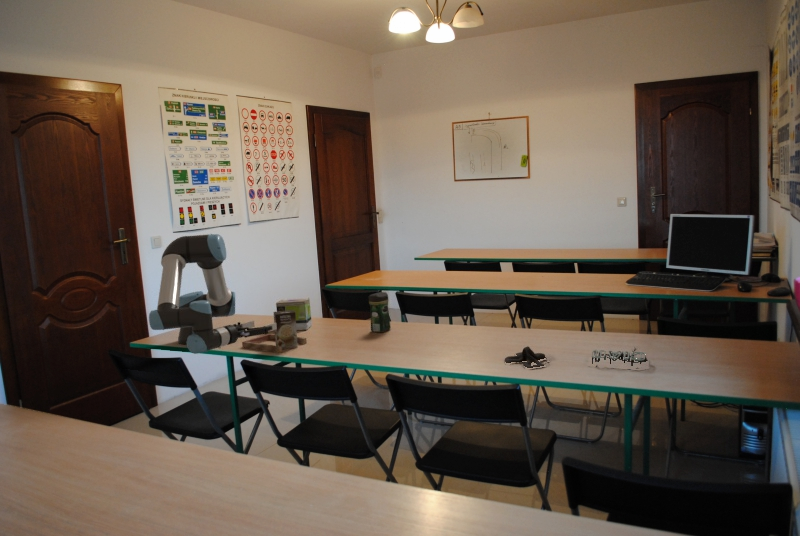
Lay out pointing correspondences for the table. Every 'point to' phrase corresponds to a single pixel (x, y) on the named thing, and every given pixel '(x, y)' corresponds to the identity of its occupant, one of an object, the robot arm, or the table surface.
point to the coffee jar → (379, 312)
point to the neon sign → (619, 356)
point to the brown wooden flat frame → (271, 348)
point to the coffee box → (285, 329)
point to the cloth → (527, 358)
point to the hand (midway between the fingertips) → (264, 324)
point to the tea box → (297, 311)
